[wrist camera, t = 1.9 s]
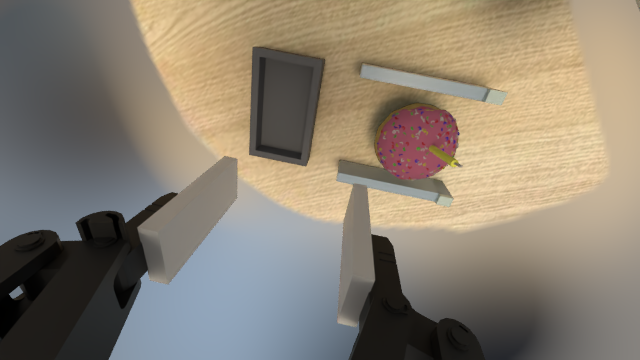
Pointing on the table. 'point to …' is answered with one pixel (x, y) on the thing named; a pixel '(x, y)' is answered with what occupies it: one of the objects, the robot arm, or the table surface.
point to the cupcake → (417, 141)
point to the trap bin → (283, 104)
